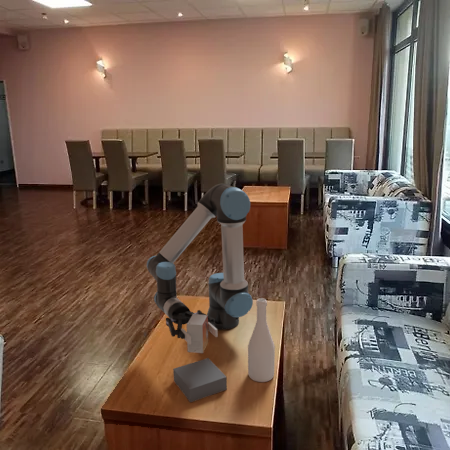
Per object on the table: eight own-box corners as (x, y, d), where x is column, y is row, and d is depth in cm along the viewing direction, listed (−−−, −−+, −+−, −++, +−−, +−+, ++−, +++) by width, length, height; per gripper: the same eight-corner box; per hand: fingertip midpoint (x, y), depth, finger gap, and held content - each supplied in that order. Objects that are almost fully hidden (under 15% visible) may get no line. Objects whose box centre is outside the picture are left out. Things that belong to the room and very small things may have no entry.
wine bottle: (244, 380, 162) (244, 303, 154) (252, 366, 171) (252, 292, 163) (270, 385, 159) (271, 307, 151) (276, 370, 167) (278, 296, 160)
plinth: (208, 369, 169) (208, 357, 167) (226, 389, 157) (226, 376, 155) (173, 381, 162) (173, 368, 161) (190, 402, 150) (189, 389, 149)
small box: (203, 353, 151) (202, 325, 148) (187, 352, 152) (186, 324, 150) (208, 342, 159) (208, 314, 156) (193, 340, 160) (192, 313, 157)
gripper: (203, 313, 175) (232, 338, 156) (149, 327, 165) (173, 355, 146) (202, 295, 173) (231, 319, 154) (148, 308, 163) (172, 334, 144)
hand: (203, 336), depth 150 cm, fingers closed on small box, 9 cm apart
